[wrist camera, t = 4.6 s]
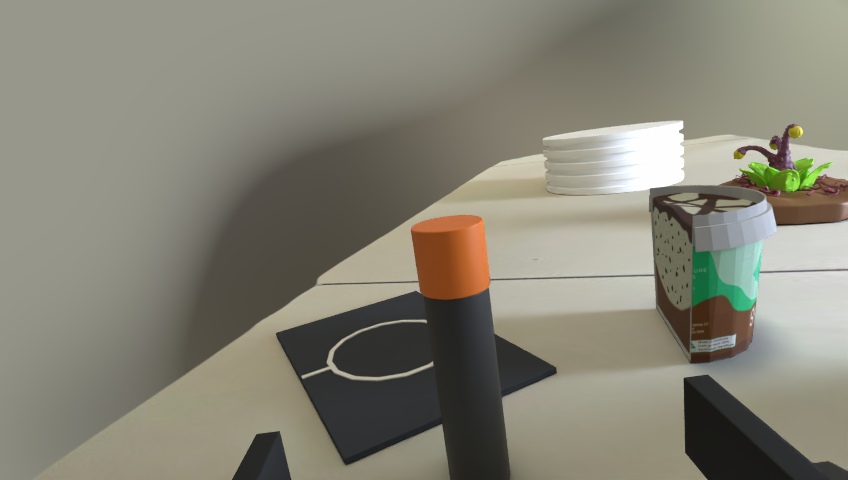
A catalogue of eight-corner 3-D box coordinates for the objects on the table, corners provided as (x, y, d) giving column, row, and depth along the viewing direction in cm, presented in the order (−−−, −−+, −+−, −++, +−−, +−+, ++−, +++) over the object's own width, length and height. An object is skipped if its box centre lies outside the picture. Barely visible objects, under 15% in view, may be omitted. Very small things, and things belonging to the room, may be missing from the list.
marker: (470, 510, 22) (431, 235, 19) (437, 470, 25) (399, 226, 22) (526, 480, 23) (497, 219, 20) (488, 445, 26) (459, 212, 23)
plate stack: (543, 182, 121) (539, 136, 119) (661, 168, 115) (659, 120, 113) (551, 200, 95) (546, 142, 92) (705, 183, 89) (705, 121, 86)
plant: (727, 231, 58) (727, 138, 55) (679, 203, 76) (678, 132, 74) (927, 215, 53) (937, 112, 51) (825, 189, 72) (829, 113, 69)
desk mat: (345, 465, 26) (344, 457, 26) (276, 336, 45) (275, 331, 45) (556, 372, 32) (556, 365, 32) (416, 294, 52) (415, 289, 51)
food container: (813, 373, 28) (821, 207, 26) (697, 374, 30) (695, 218, 27) (732, 297, 40) (733, 178, 37) (652, 301, 41) (648, 186, 39)
